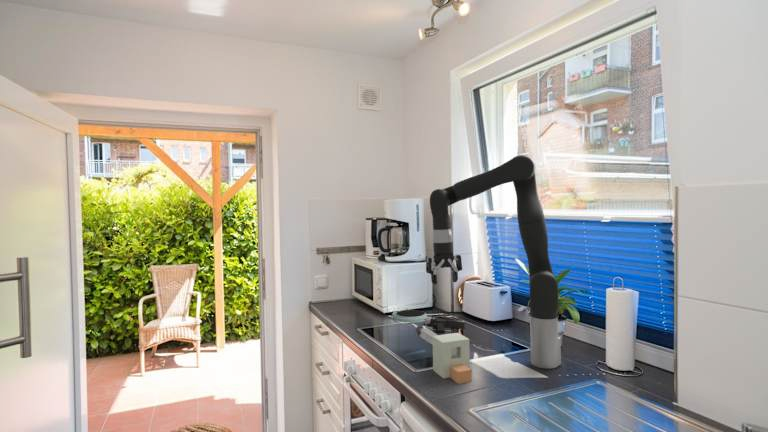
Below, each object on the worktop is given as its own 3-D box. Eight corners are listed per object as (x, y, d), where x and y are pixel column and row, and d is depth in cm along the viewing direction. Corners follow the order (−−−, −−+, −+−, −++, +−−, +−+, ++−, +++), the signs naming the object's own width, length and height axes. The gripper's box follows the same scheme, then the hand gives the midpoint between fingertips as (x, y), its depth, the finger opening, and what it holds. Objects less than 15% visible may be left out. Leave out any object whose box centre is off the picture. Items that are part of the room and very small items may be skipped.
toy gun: (455, 330, 190) (466, 318, 203) (413, 322, 201) (426, 312, 213) (455, 340, 191) (466, 328, 203) (413, 332, 201) (426, 321, 214)
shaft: (425, 335, 174) (425, 324, 174) (459, 357, 147) (459, 344, 147) (415, 336, 172) (415, 325, 172) (448, 359, 146) (447, 346, 146)
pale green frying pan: (410, 303, 240) (434, 313, 218) (410, 310, 241) (434, 320, 218) (381, 307, 233) (403, 317, 210) (381, 314, 233) (403, 325, 210)
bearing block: (458, 366, 154) (457, 332, 154) (469, 374, 146) (469, 339, 146) (433, 370, 151) (432, 336, 151) (443, 378, 143) (442, 342, 143)
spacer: (463, 376, 145) (463, 364, 145) (471, 381, 140) (471, 369, 140) (450, 378, 144) (450, 366, 143) (458, 384, 139) (458, 371, 139)
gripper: (430, 243, 160) (432, 286, 160) (464, 240, 164) (466, 282, 165) (421, 242, 167) (424, 283, 167) (454, 239, 172) (456, 280, 172)
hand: (444, 283), depth 166 cm, fingers open, 8 cm apart
